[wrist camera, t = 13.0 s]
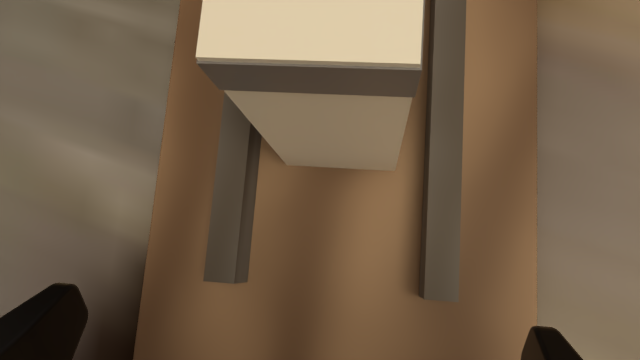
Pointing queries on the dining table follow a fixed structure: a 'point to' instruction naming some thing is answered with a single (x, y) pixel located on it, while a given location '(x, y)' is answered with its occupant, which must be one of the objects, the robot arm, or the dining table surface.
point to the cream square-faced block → (318, 74)
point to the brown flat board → (354, 216)
